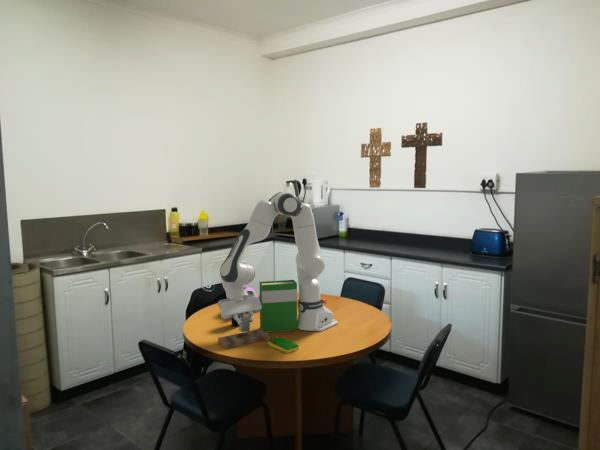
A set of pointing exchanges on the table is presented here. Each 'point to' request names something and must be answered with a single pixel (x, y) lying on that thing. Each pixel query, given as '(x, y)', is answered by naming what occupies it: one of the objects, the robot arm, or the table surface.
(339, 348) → the table surface
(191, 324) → the table surface
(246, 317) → the lever cap
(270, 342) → the dish sponge
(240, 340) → the brown flat board
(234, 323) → the cup
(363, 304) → the table surface
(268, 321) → the hardback book
